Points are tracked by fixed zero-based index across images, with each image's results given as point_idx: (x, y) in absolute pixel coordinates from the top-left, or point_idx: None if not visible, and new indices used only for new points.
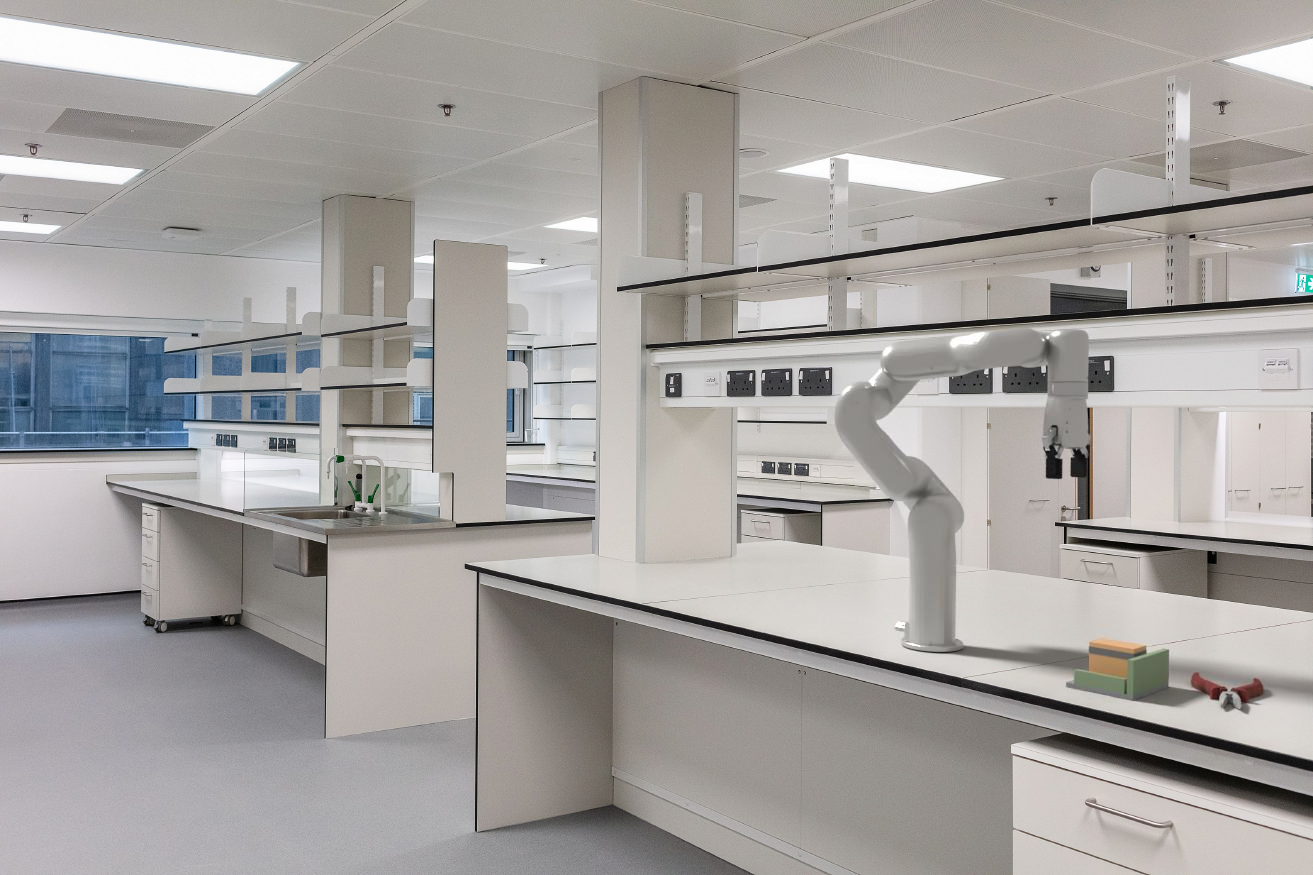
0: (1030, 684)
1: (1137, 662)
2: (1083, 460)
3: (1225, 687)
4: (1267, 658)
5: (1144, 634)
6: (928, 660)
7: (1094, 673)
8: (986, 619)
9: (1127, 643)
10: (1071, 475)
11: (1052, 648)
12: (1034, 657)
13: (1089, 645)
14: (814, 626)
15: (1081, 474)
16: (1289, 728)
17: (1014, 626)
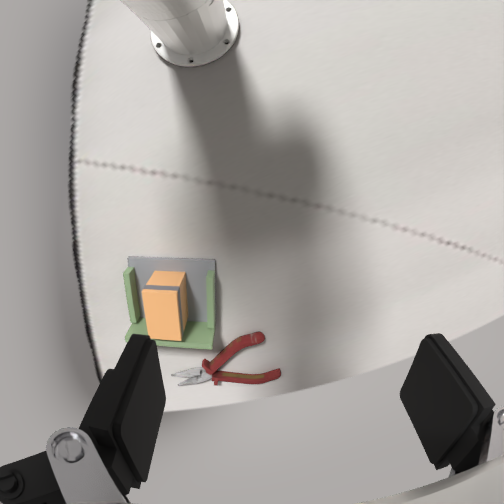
0: (107, 226)
1: None
2: (431, 454)
3: (212, 373)
4: (418, 333)
5: (470, 203)
6: (115, 79)
7: (127, 294)
8: (424, 14)
9: (172, 324)
10: (422, 344)
11: (317, 145)
12: (240, 154)
13: (143, 289)
14: None
15: (407, 392)
16: (167, 406)
17: (414, 54)
